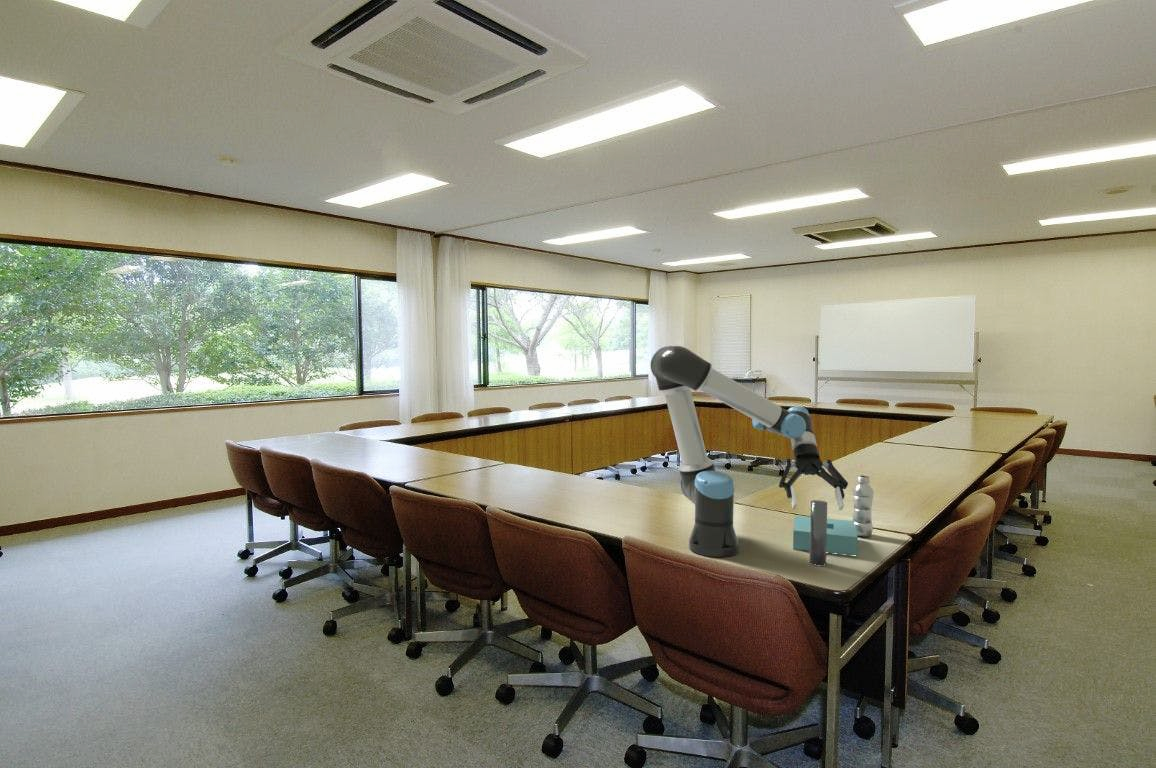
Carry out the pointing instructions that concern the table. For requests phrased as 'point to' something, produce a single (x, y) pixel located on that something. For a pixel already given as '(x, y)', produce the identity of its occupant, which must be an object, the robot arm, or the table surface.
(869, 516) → the plastic bottle
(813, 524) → the pin
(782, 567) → the table surface
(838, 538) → the socket block
